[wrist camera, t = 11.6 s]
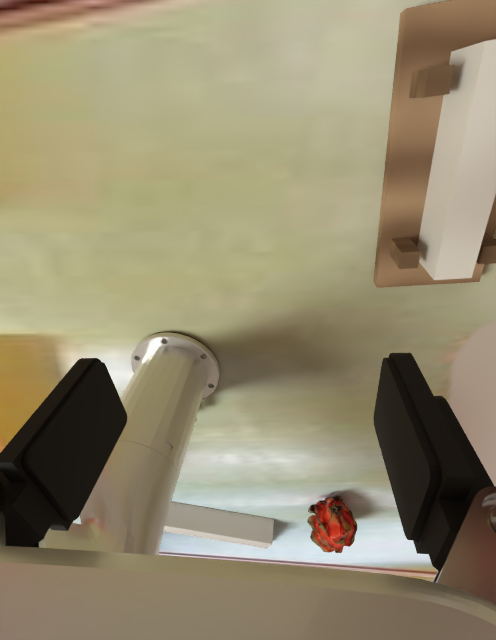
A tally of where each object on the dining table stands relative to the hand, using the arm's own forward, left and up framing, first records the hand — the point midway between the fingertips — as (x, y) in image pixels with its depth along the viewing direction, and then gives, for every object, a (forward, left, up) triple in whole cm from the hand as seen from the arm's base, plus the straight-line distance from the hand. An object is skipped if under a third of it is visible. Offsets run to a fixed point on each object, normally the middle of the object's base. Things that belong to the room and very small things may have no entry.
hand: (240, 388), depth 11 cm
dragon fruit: (-58, -6, -26) cm, 64 cm away
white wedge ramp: (-67, +23, -26) cm, 75 cm away
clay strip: (+1, -15, -24) cm, 29 cm away
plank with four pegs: (+1, -15, -26) cm, 30 cm away
